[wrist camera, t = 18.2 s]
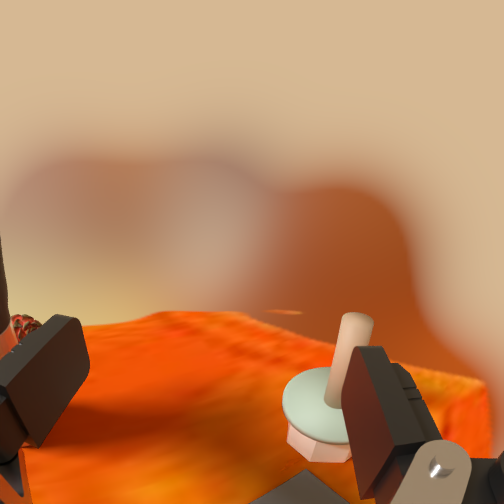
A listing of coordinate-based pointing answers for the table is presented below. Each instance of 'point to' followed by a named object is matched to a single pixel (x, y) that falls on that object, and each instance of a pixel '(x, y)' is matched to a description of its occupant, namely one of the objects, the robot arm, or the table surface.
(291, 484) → the mat
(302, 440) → the bowl
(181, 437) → the table surface
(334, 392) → the lid
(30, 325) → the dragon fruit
